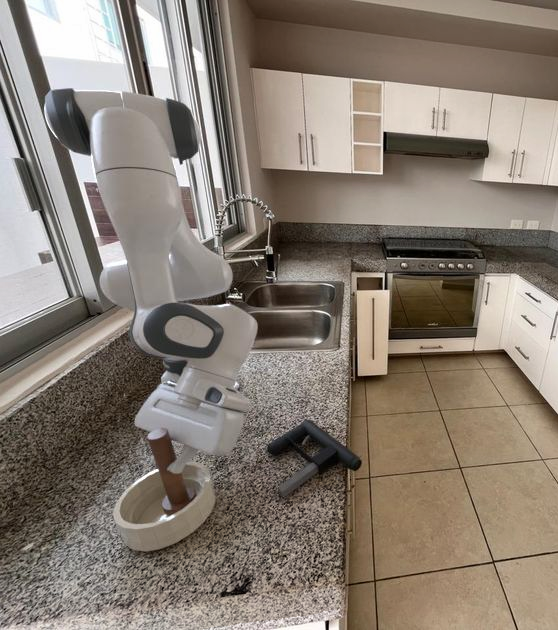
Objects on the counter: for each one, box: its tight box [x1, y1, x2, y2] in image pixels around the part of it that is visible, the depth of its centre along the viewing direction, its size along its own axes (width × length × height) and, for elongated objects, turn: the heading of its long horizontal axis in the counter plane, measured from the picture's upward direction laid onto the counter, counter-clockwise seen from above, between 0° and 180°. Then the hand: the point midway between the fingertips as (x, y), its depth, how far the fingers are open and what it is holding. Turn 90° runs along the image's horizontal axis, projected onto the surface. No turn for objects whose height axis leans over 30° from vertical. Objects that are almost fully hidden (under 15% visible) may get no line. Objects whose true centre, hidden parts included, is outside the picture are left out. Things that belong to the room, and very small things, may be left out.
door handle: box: [266, 419, 363, 499], centre depth 73 cm, size 3×20×16 cm
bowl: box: [112, 460, 217, 552], centre depth 60 cm, size 14×14×6 cm
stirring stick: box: [146, 428, 196, 516], centre depth 59 cm, size 5×5×16 cm
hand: (164, 468), depth 58 cm, fingers closed on stirring stick, 3 cm apart
